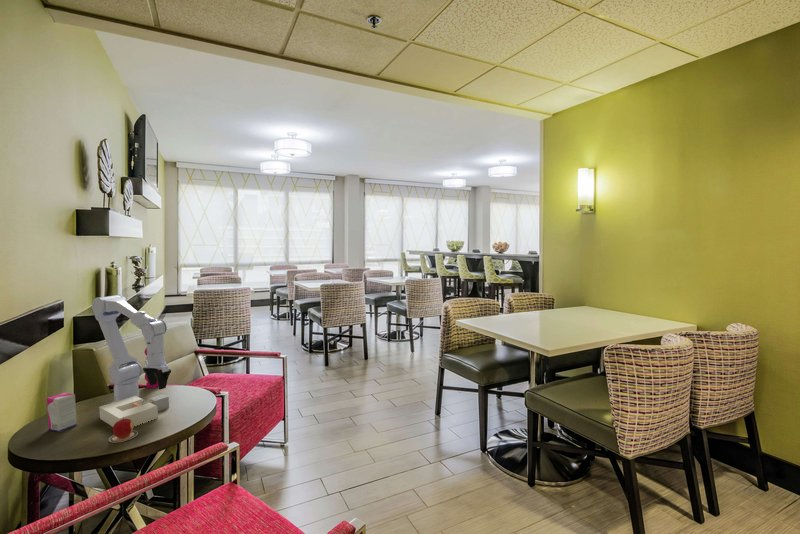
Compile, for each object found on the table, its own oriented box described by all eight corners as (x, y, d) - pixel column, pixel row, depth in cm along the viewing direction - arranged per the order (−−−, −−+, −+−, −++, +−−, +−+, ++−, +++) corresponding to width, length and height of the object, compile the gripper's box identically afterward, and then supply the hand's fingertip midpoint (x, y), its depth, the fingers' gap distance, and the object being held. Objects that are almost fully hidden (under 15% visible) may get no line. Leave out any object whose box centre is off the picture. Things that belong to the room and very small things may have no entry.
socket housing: (100, 418, 147) (99, 406, 147) (136, 407, 157) (135, 395, 156) (120, 431, 137) (119, 418, 136) (158, 418, 146) (157, 406, 146)
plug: (146, 410, 154) (145, 399, 153) (163, 404, 159) (163, 394, 158) (152, 413, 151) (151, 402, 151) (169, 407, 156) (168, 396, 156)
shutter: (133, 413, 150) (132, 403, 150) (136, 412, 151) (135, 402, 151) (139, 416, 147) (139, 406, 147) (142, 415, 148) (142, 405, 148)
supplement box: (77, 424, 142) (75, 393, 142) (59, 432, 137) (56, 400, 136) (66, 422, 144) (64, 391, 143) (47, 430, 139) (45, 398, 138)
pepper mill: (167, 384, 181) (164, 341, 180) (150, 389, 175) (147, 344, 173) (158, 381, 185) (156, 339, 183) (142, 386, 179) (139, 342, 177)
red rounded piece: (130, 429, 138) (129, 411, 138) (143, 435, 134) (141, 416, 134) (104, 440, 131) (102, 421, 131) (116, 446, 127) (114, 426, 127)
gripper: (135, 351, 155) (138, 386, 156) (153, 357, 146) (155, 394, 147) (155, 347, 160) (157, 380, 161) (173, 353, 152) (175, 387, 153)
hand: (157, 386), depth 155 cm, fingers open, 7 cm apart
